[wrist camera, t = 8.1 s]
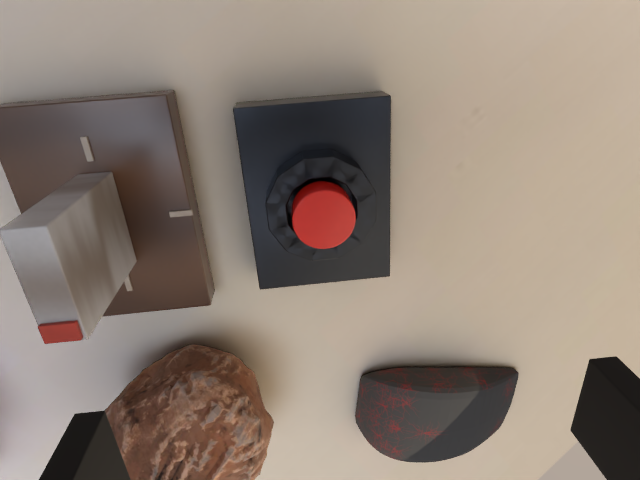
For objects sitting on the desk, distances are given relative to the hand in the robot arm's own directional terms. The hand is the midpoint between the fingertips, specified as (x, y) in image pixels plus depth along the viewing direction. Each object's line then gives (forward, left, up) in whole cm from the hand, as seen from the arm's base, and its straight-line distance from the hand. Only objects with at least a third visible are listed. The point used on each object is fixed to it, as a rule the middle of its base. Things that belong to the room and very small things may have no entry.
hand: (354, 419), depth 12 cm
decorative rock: (+16, -11, -19) cm, 27 cm away
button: (0, 0, -15) cm, 15 cm away
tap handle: (0, -13, -17) cm, 21 cm away
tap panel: (0, -13, -19) cm, 23 cm away
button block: (0, 0, -19) cm, 19 cm away
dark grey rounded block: (+20, +9, -19) cm, 29 cm away
